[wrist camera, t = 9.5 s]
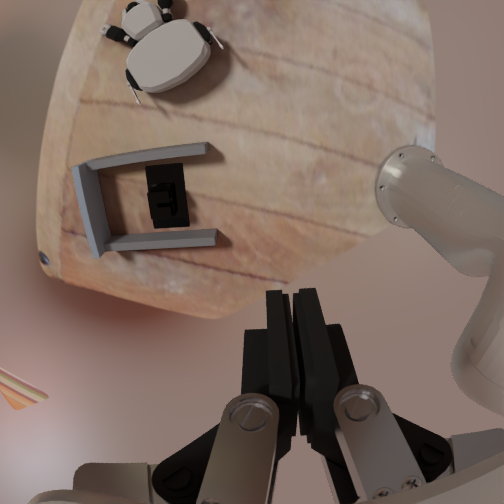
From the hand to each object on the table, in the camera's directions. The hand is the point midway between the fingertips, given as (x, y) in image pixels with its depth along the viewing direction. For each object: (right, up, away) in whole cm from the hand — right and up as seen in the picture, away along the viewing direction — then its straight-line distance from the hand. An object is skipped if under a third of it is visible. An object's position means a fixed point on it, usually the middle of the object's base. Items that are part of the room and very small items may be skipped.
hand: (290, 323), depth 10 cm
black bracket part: (-13, +11, +31) cm, 35 cm away
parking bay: (-15, +10, +30) cm, 35 cm away
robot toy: (-13, +30, +21) cm, 39 cm away
